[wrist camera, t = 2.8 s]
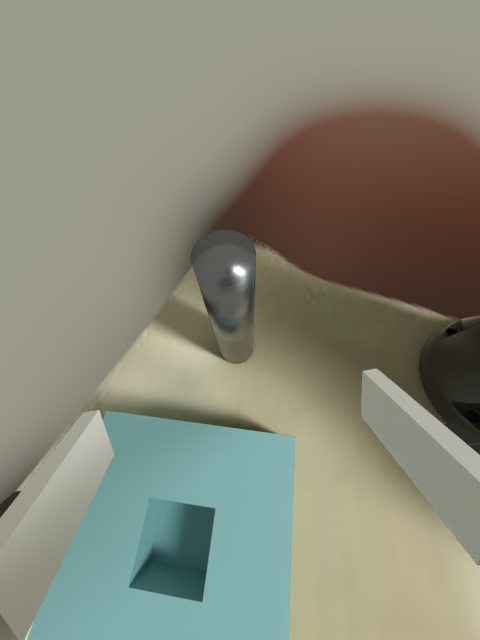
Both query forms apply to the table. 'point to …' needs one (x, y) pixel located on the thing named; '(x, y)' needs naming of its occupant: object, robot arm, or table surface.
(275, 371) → the table surface
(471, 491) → the robot arm
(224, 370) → the table surface
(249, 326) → the pin
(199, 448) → the socket block
